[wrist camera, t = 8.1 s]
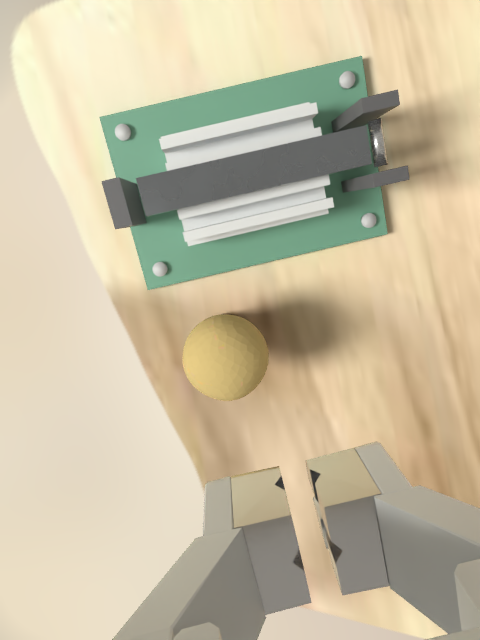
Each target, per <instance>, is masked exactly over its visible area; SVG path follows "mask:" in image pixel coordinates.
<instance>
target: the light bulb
mask: <svg viewBox="0 0 480 640" xmlns="http://www.w3.org/2000/svg"><path fill="white" fill-rule="evenodd" d="M268 356H269V353H268V348H267V344H266V342H265V339H264V337H263V336H262V334H261V333H260V331H259V330H258V329H257V328H256V327H255V326H254V325H253V324H252V323H251V322H249V321H248V320H246V319H244V318H242V317H239V316H235V315H228V314H223V315H216V316H212V317H210V318H207V319H205V320H204V321H202V322H201V323H199V324H198V325H197V326H196V327H195V328H194V329H193V330H192V331H191V333H190V334H189V336H188V338H187V340H186V343H185V345H184V349H183V367H184V371H185V373H186V375H187V377H188V379H189V381H190V382H191V384H192V385H193V386H194V387H195V388H196V389H197V390H199V391H200V392H201V393H203V394H204V395H206V396H209V397H211V398H214V399H218V400H223V401H232V400H237V399H240V398H242V397H244V396H246V395H247V394H249V393H250V392H251V391H253V390H254V389H255V388H256V387H257V386H258V384H259V383H260V382H261V380H262V378H263V377H264V375H265V372H266V370H267V366H268Z"/></svg>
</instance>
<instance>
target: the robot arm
mask: <svg viewBox="0 0 480 640" xmlns="http://www.w3.org/2000/svg"><path fill="white" fill-rule="evenodd" d="M306 467H307V472H308V477H309V481H310V484H311V487H312V490H313V493H314V497H313V500H314V505H315V509H316V513H317V517H318V521H319V525H320V529H321V532H322V536H323V539H324V542H325V545H326V548H327V549H329V553H330V557H331V562H332V566H333V569H334V572H335V575H336V578H337V581H338V584H339V586H340V589H341V592H342V595H347V594H352V593H357V592H361V591H366V590H371V589H376V588H381V587H386V586H390V588H391V589H392V590H393V591H395V592H396V593H397V594H398V595H400V596H401V597H402V598H404V599H405V600H406V601H407V602H409V603H410V604H411V605H412V606H414V607H415V608H416V609H418V610H419V611H420V612H421V613H423V614H424V615H425V616H426V617H428V618H429V619H430V620H432V621H433V622H434V623H435V624H437V625H438V626H439V627H441V628H442V629H443V630H444V631H446V632H447V633H448V634H447V635H443V636H439V637H434V638H430V639H426V640H480V508H477V507H475V506H472V505H469V504H467V503H464V502H462V501H459V500H456V499H454V498H451V497H449V496H446V495H443V494H441V493H438V492H436V491H433V490H430V489H428V488H425V487H423V486H415V487H412V486H411V484H410V483H409V482H408V480H407V479H406V478H405V476H404V475H403V473H402V472H401V471H400V469H399V468H398V467H397V465H396V464H395V463H394V461H393V460H392V458H391V457H390V456H389V454H388V453H387V452H386V450H385V449H384V448H383V446H382V445H381V443H379V442H373V443H370V444H366V445H362V446H359V447H355V448H352V449H348V450H344V451H340V452H337V453H333V454H329V455H325V456H321V457H318V458H314V459H310V460H306ZM308 603H311V598H310V594H309V589H308V585H307V581H306V576H305V572H304V567H303V563H302V559H301V555H300V551H299V546H298V542H297V537H296V533H295V529H294V525H293V521H292V517H291V513H290V508H289V504H288V500H287V496H286V492H285V488H284V484H283V480H282V476H281V472H280V468H279V466H277V467H272V468H268V469H263V470H258V471H254V472H249V473H244V474H240V475H235V476H231V477H225V478H221V479H217V480H213V481H209V482H207V483H206V485H205V497H204V523H203V537H198V538H196V539H195V540H194V541H193V542H192V544H190V546H189V547H188V548H187V550H186V551H185V552H184V553H183V554H182V556H181V557H180V558H179V559H178V561H177V562H176V563H175V564H174V565H173V566H172V568H171V569H170V570H169V571H168V573H167V574H166V575H165V576H164V578H163V579H162V580H161V581H160V582H159V583H158V585H157V586H156V587H155V588H154V590H153V591H152V592H151V593H150V594H149V596H148V597H147V598H146V599H145V600H144V602H143V603H142V604H141V606H140V607H139V608H138V609H137V610H136V612H135V613H134V614H133V615H132V616H131V618H130V619H129V620H128V621H127V622H126V624H125V625H124V626H123V627H122V628H121V630H120V631H119V632H118V633H117V635H116V636H115V637H114V638H113V639H112V640H257V638H258V636H259V633H260V631H261V628H262V626H263V624H264V621H265V619H266V617H265V615H267V614H271V613H275V612H278V611H282V610H285V609H289V608H293V607H297V606H301V605H304V604H308Z"/></svg>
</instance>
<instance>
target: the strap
mask: <svg viewBox="0 0 480 640" xmlns="http://www.w3.org/2000/svg"><path fill="white" fill-rule="evenodd" d="M368 128H369V135H370V142H371V149H372V155H373V162H374V167H378V166H382V165H386V164H388V162H387V155H386V148H385V141H384V134H383V126H382V119H381V118H378V119H374V120H371V121H368ZM370 164H372V161H371V154H370V147H369V140H368V133H367V127H366V125H365V126H361V127H356V128H352V129H348V130H343V131H339V132H335V133H330V134H326V135H321V136H317V137H313V138H308V139H304V140H300V141H295V142H291V143H287V144H282V145H278V146H274V147H269V148H265V149H261V150H256V151H252V152H248V153H243V154H239V155H234V156H230V157H226V158H221V159H217V160H213V161H208V162H204V163H200V164H195V165H191V166H187V167H182V168H178V169H174V170H169V171H165V172H160V173H156V174H152V175H147V176H143V177H139V178H136V181H137V185H138V189H139V193H140V196H141V200H142V204H143V207H144V211H145V215H146V216H152V215H156V214H160V213H164V212H169V211H173V210H177V209H182V208H186V207H190V206H194V205H199V204H203V203H207V202H212V201H216V200H220V199H225V198H229V197H233V196H237V195H242V194H246V193H250V192H255V191H259V190H263V189H268V188H272V187H276V186H280V185H285V184H289V183H293V182H298V181H302V180H306V179H310V178H315V177H319V176H323V175H328V174H332V173H336V172H341V171H345V170H349V169H353V168H358V167H362V166H366V165H370Z"/></svg>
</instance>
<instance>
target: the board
mask: <svg viewBox="0 0 480 640" xmlns="http://www.w3.org/2000/svg"><path fill="white" fill-rule="evenodd" d="M398 105H400V102H399V95H398V90H394V91H390V92H386V93H382V94H377V95H373V96H369V97H368V95H367V88H366V81H365V74H364V67H363V60H362V56H359V57H355V58H351V59H346V60H342V61H338V62H333V63H329V64H325V65H321V66H316V67H312V68H308V69H303V70H299V71H295V72H291V73H286V74H282V75H278V76H274V77H269V78H265V79H261V80H256V81H252V82H248V83H244V84H239V85H235V86H231V87H226V88H222V89H218V90H214V91H209V92H205V93H201V94H197V95H192V96H188V97H184V98H179V99H175V100H171V101H167V102H162V103H158V104H154V105H149V106H145V107H141V108H137V109H132V110H128V111H124V112H119V113H115V114H111V115H107V116H102V117H100V121H101V124H102V128H103V132H104V135H105V139H106V142H107V146H108V149H109V153H110V157H111V160H112V164H113V167H114V171H115V174H116V178H114V179H110V180H105V181H102V185H103V188H104V192H105V195H106V199H107V202H108V206H109V209H110V213H111V216H112V219H113V223H114V226H115V229H120V228H126V227H130V228H131V231H132V235H133V239H134V242H135V246H136V249H137V253H138V256H139V260H140V264H141V267H142V271H143V274H144V278H145V281H146V285H147V289H148V290H150V289H154V288H159V287H163V286H167V285H171V284H176V283H180V282H184V281H189V280H193V279H197V278H201V277H206V276H210V275H214V274H218V273H223V272H227V271H231V270H236V269H240V268H244V267H248V266H253V265H257V264H261V263H266V262H270V261H274V260H278V259H283V258H287V257H291V256H296V255H300V254H304V253H308V252H313V251H317V250H321V249H326V248H330V247H334V246H338V245H343V244H347V243H351V242H355V241H360V240H364V239H368V238H373V237H377V236H381V235H385V234H388V233H387V226H386V219H385V212H384V205H383V199H382V192H381V186H383V185H388V184H392V183H396V182H400V181H405V180H409V172H408V166H403V167H399V168H395V169H391V170H386V171H382V172H379V171H378V167H374V162H373V155H372V149H371V142H370V135H369V128H368V121H371V120H374V119H376V118H378V117H380V116H381V115H383V114H385V113H386V112H388V111H390V110H392V109H393V108H395V107H397V106H398ZM365 125H366V127H367V133H368V140H369V147H370V154H371V161H372V164H370V165H366V166H362V167H358V168H353V169H349V170H345V171H341V172H336V173H332V174H328V175H323V176H319V177H315V178H310V179H306V180H302V181H298V182H293V183H289V184H285V185H280V186H276V187H272V188H268V189H263V190H259V191H255V192H250V193H246V194H242V195H237V196H233V197H229V198H225V199H220V200H216V201H212V202H207V203H203V204H199V205H194V206H190V207H186V208H182V209H177V210H173V211H169V212H164V213H160V214H156V215H152V216H146V215H145V211H144V207H143V204H142V200H141V196H140V193H139V189H138V185H137V181H136V178H139V177H143V176H147V175H152V174H156V173H160V172H165V171H169V170H174V169H178V168H182V167H187V166H191V165H195V164H200V163H204V162H208V161H213V160H217V159H221V158H226V157H230V156H234V155H239V154H243V153H248V152H252V151H256V150H261V149H265V148H269V147H274V146H278V145H282V144H287V143H291V142H295V141H300V140H304V139H308V138H313V137H317V136H321V135H326V134H330V133H335V132H339V131H343V130H348V129H352V128H356V127H361V126H365Z"/></svg>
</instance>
